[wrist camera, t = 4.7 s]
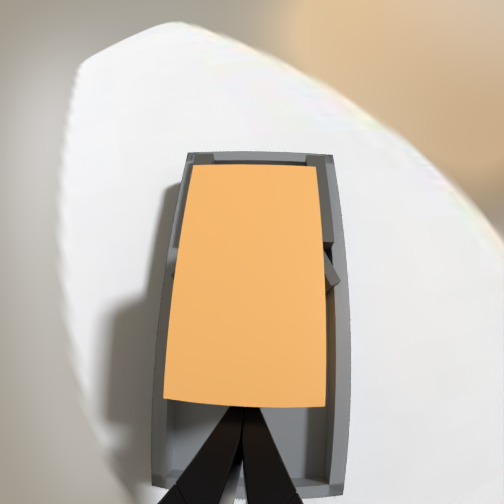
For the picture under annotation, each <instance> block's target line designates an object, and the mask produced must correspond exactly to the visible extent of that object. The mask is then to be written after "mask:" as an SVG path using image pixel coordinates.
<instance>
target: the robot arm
mask: <svg viewBox="0 0 504 504" xmlns="http://www.w3.org/2000/svg"><path fill="white" fill-rule="evenodd" d="M242 460H243V476H244V488H245V499H246V504H303V502H302V500H301V498H300V496H299V493H296V492H297V490H296V488H295V485H294V483H293V481H292V479H291V477H290V475H289V473H288V470H287V468H286V466H285V464H284V462H283V460H282V457H281V455H280V453H279V451H278V448H277V446H276V444H275V442H274V439H273V437H272V435H271V433H270V430H269V428H268V426H267V423H266V421H265V419H264V416H263V414H262V412H261V409H260V407H243V406H229V407H228V409H227V410H226V412H225V413H224V415H223V416H222V418H221V419H220V421H219V422H218V424H217V425H216V427H215V428H214V429H213V431H212V432H211V434H210V435H209V437H208V438H207V439H206V441H205V442H204V444H203V445H202V447H201V448H200V449H199V451H198V452H197V454H196V455H195V456H194V458H193V459H192V460H191V462H190V463H189V464H188V466H187V467H186V469H185V470H184V471H183V473H182V474H181V475H180V477H179V478H178V479H177V481H176V482H175V483H176V484H173V486H172V487H171V488H170V489H169V491H168V492H167V493H166V494H165V496H164V497H163V498H162V499H161V500H160V501H159V503H158V504H233V503H234V499H235V494H236V490H237V485H238V481H239V477H240V472H241V467H242Z"/></svg>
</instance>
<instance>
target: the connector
mask: <svg viewBox="0 0 504 504" xmlns="http://www.w3.org/2000/svg"><path fill="white" fill-rule="evenodd" d="M325 397H326V301H325V276H324V257H323V241H322V227H321V215H320V204H319V193H318V183H317V174H316V167H311V166H290V165H244V164H231V165H193V170H192V174H191V179H190V185H189V190H188V195H187V201H186V206H185V212H184V217H183V223H182V229H181V236H180V242H179V248H178V255H177V262H176V269H175V277H174V284H173V292H172V301H171V309H170V318H169V328H168V339H167V350H166V363H165V377H164V394H163V398H165V399H172V400H179V401H187V402H195V403H204V404H215V405H227V406H243V407H274V408H292V407H323V406H325Z"/></svg>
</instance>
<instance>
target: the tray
mask: <svg viewBox="0 0 504 504" xmlns="http://www.w3.org/2000/svg"><path fill="white" fill-rule="evenodd" d="M231 164H244V165H290V166H311V167H316V174H317V183H318V193H319V204H320V215H321V227H322V241H323V257H324V276H325V301H326V397H325V406H323V407H292V408H274V407H260V409H261V412H262V414H263V416H264V419H265V421H266V423H267V426H268V428H269V430H270V433H271V435H272V437H273V439H274V442H275V444H276V446H277V448H278V451H279V453H280V455H281V457H282V460H283V462H284V464H285V466H286V468H287V470H288V473H289V475H290V477H291V479H292V481H293V483H294V485H295V488H296V490H297V492H296V493H299V496H300V498H301V499H307V498H320V497H330V496H338V495H343V489H344V481H345V472H346V462H347V451H348V438H349V421H350V397H351V332H350V306H349V289H348V274H347V262H346V251H345V241H344V231H343V223H342V214H341V207H340V199H339V192H338V185H337V178H336V172H335V166H334V160H333V155H326V154H311V153H291V152H251V151H233V152H193V153H188V155H187V159H186V163H185V168H184V172H183V177H182V181H181V186H180V191H179V195H178V200H177V205H176V211H175V216H174V221H173V227H172V232H171V238H170V244H169V250H168V256H167V263H166V269H165V276H164V283H163V291H162V298H161V306H160V315H159V324H158V333H157V344H156V355H155V368H154V383H153V401H152V432H151V470H152V486H157V487H161V488H166V489H170V488H171V487H172V486H173V484H176V483H175V482H176V481H177V479H178V478H179V477H180V475H181V474H182V473H183V471H184V470H185V469H186V467H187V466H188V464H189V463H190V462H191V460H192V459H193V458H194V456H195V455H196V454H197V452H198V451H199V449H200V448H201V447H202V445H203V444H204V442H205V441H206V439H207V438H208V437H209V435H210V434H211V432H212V431H213V429H214V428H215V427H216V425H217V424H218V422H219V421H220V419H221V418H222V416H223V415H224V413H225V412H226V410H227V409H228V407H229V406H227V405H215V404H204V403H195V402H187V401H179V400H172V399H165V398H163V394H164V377H165V363H166V350H167V339H168V328H169V318H170V309H171V301H172V292H173V284H174V277H175V269H176V262H177V255H178V248H179V242H180V236H181V229H182V223H183V217H184V212H185V206H186V201H187V195H188V190H189V185H190V179H191V174H192V170H193V165H231ZM235 498H239V499H245V488H244V476H243V460H242V467H241V472H240V477H239V481H238V485H237V490H236V494H235Z"/></svg>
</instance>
